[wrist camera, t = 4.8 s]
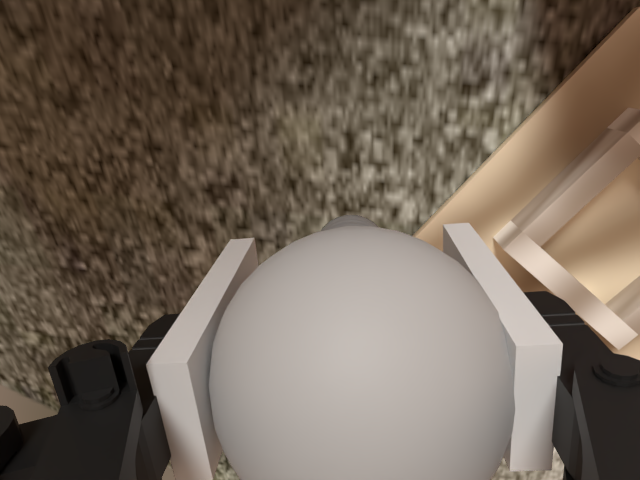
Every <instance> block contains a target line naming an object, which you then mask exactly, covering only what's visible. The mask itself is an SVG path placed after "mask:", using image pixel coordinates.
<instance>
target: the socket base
mask: <svg viewBox="0 0 640 480" xmlns="http://www.w3.org/2000/svg"><path fill="white" fill-rule="evenodd" d="M456 223H470V225H471V226H472V227H473V229H474V230H475V231H476V232H477V234H478V235H479V236H480V238H481V239H482V240H483V241H484V243H485V244H486V245H487V247H488V248H489V249H490V250H491V252H492V253H493V254H494V256H495V257H496V258H497V260H498V261H499V262H500V263H501V265H502V266H503V267H504V269H505V270H506V271H507V272H508V274H509V275H510V276H511V278H512V279H513V280H514V281H515V283H516V284H517V285H518V287H519V288H520V289H521V290H522V292H536V291H547V292H549V293H551V294H553V295H555V296H557V297H559V298H561V299H563V300H565V302H566V303H567V304H568V305H569V306H570V307H571V308H572V309H573V310H574V311H575V314H576V315H578V316H579V317H580V318H581V319H582V320H583V321H584V323H585V325H588V326H589V327H590V329H591V330H592V331H593V332H594V333H595V334H596V335H597V336H598V337H599V338H600V339H601V340H602V341H603V343H604V344H605V345H606V346H607V347H608V348H609V349H610V350H611V351H612V352H613V353H615V354H621V355H626V356H630V357H632V358H635V359H638V360H640V7H636V8H633V9H632V10H631V11H630V12H629V13H628V14H627V15H626V16H625V17H624V19H623V20H622V21H621V22H620V23H619V24H618V25H617V26H616V27H615V28H614V29H613V30H612V31H611V32H610V33H609V34H608V35H607V36H606V37H605V38H604V39H603V40H602V41H601V42H600V43H599V44H598V45H597V46H596V47H595V48H594V49H593V50H592V51H591V53H590V54H589V55H588V56H587V57H586V58H585V59H584V60H583V61H582V62H581V63H580V64H579V65H578V66H577V67H576V68H575V69H574V70H573V71H572V72H571V73H570V74H569V75H568V76H567V77H566V78H565V79H564V80H563V81H562V82H561V83H560V84H559V85H558V86H557V88H556V89H555V90H554V91H553V92H552V93H551V94H550V95H549V96H548V97H547V98H546V99H545V100H544V101H543V102H542V103H541V104H540V105H539V106H538V107H537V108H536V109H535V110H534V111H533V112H532V113H531V114H530V115H529V116H528V117H527V118H526V119H525V120H524V122H523V123H522V124H521V125H520V126H519V127H518V128H517V129H516V130H515V131H514V132H513V133H512V134H511V135H510V136H509V137H508V138H507V139H506V140H505V141H504V142H503V143H502V144H501V145H500V146H499V147H498V148H497V149H496V150H495V151H494V152H493V153H492V154H491V155H490V157H489V158H488V159H487V160H486V161H485V162H484V163H483V164H482V165H481V166H480V167H479V168H478V169H477V170H476V171H475V172H474V173H473V174H472V175H471V176H470V177H469V178H468V179H467V180H466V181H465V182H464V183H463V184H462V185H461V186H460V187H459V188H458V189H457V191H456V192H455V193H454V194H453V195H452V196H451V197H450V198H449V199H448V200H447V201H446V202H445V203H444V204H443V205H442V206H441V207H440V208H439V209H438V210H437V211H436V212H435V213H434V214H433V215H432V216H431V217H430V218H429V219H428V220H427V221H426V222H425V223H424V225H423V226H422V227H421V228H420V229H419V230H418V231H417V232H416V233H415V234H414V235H413V237H416V238H418V239H421V240H423V241H425V242H427V243H429V244H430V245H432V246H434V247H435V248H437V249H439V250H440V251H442V252H443V224H456Z"/></svg>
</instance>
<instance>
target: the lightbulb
mask: <svg viewBox="0 0 640 480" xmlns="http://www.w3.org/2000/svg"><path fill="white" fill-rule="evenodd" d="M209 393H210V401H211V408H212V415H213V421H214V427H215V431H216V433H217V436H218V439H219V441H220V444H221V447H222V449H223V452H224V453H225V455H226V457H227V459H228V460H229V462H230V464H231V466H232V467H233V469H234V471H235V472H236V474H237V475H238V477H239V478H240V480H491V478H492V477H493V475H494V474H495V472H496V471H497V469H498V467H499V465H500V462H501V460H502V458H503V455H504V453H505V451H506V448H507V446H508V443H509V440H510V438H511V435H512V431H513V424H514V416H515V400H514V382H513V374H512V368H511V363H510V358H509V352H508V347H507V341H506V336H505V332H504V329H503V327H502V324H501V321H500V318H499V312H498V311H497V309H496V307H495V306H494V304H493V303H492V301H491V300H490V298H489V297H488V295H487V294H486V292H485V291H484V289H483V288H482V286H481V285H480V283H479V282H478V280H477V279H475V278H474V277H473V276H472V275H471V274H470V273H469V272H468V271H467V270H466V269H465V268H464V267H463V266H462V265H461V264H460V263H459V262H458V261H456V260H455V259H453V258H451V257H450V256H448V255H447V254H445V253H443V252H442V251H440V250H439V249H437V248H435V247H434V246H432V245H430V244H429V243H427V242H425V241H423V240H421V239H418V238H416V237H413V236H410V235H408V234H405V233H402V232H400V231H396V230H390V229H384V228H379V227H378V226H377V225H376V224H375V223H374V222H372V221H370V220H369V219H367V218H364V217H362V216H357V215H345V216H340V217H338V218H335V219H333V220H331V221H330V222H328V223H327V224H326V225H325V226H324V227H323V228H322V230H321V231H320V232H316V233H313V234H311V235H308V236H306V237H304V238H301V239H299V240H296V241H294V242H292V243H290V244H289V245H287V246H286V247H284V248H283V249H281V250H280V251H278V252H277V253H275V254H274V255H272V256H271V257H269V258H268V259H267V260H265V261H264V262H263V263H262V264H260V265H259V266H258V267H257V268H256V269H255V270H254V272H253V273H252V274H251V275H250V276H249V277H248V278H247V279H246V280H245V281H244V282H243V283H242V284H241V285H240V287H239V288H238V290H237V292H236V293H235V295H234V296H233V298H232V300H231V301H230V303H229V304H228V306H227V308H226V310H225V312H224V314H223V317H222V319H221V321H220V324H219V327H218V330H217V333H216V336H215V339H214V342H213V346H212V356H211V366H210V376H209Z"/></svg>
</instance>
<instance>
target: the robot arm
mask: <svg viewBox="0 0 640 480" xmlns="http://www.w3.org/2000/svg"><path fill="white" fill-rule="evenodd" d="M443 253H445V254H447V255H448V256H450V257H451V258H453V259H455V260H456V261H458V262H459V263H460V264H461V265H462V266H463V267H464V268H465V269H466V270H467V271H468V272H469V273H470V274H471V275H472V276H473V277H474V278H475V279H477V280H478V282H479V283H480V285H481V286H482V288H483V289H484V291H485V292H486V294H487V295H488V297H489V298H490V300H491V301H492V303H493V304H494V306H495V307H496V309H497V311H498V312H499V318H500V321H501V324H502V327H503V329H504V332H505V336H506V341H507V347H508V352H509V358H510V363H511V368H512V374H513V382H514V400H515V416H514V424H513V431H512V435H511V438H510V440H509V443H508V446H507V448H506V451H505V453H504V455H503V456H504V458H505V461H506V463H507V466H508V468H509V471H541V470H552V459H553V448H554V447H555V449H556V450H557V452H558V454H559V456H560V458H561V460H562V461H563V463H564V475H563V480H640V360H638V359H635V358H632V357H630V356H626V355H621V354H615V353H613V352H612V351H611V350H610V349H609V348H608V347H607V346H606V345H605V344H604V343H603V341H602V340H601V339H600V338H599V337H598V336H597V335H596V334H595V333H594V332H593V331H592V330H591V329H590V327H589V326H588V325H585V323H584V321H583V320H582V319H581V318H580V317H579V316H578V315H576V314H575V311H574V310H573V309H572V308H571V307H570V306H569V305H568V304H567V303H566V302H565V300H563V299H561V298H559V297H557V296H555V295H553V294H551V293H549V292H547V291H536V292H522V290H521V289H520V288H519V287H518V285H517V284H516V283H515V281H514V280H513V279H512V278H511V276H510V275H509V274H508V272H507V271H506V270H505V269H504V267H503V266H502V265H501V263H500V262H499V261H498V260H497V258H496V257H495V256H494V254H493V253H492V252H491V250H490V249H489V248H488V247H487V245H486V244H485V243H484V241H483V240H482V239H481V238H480V236H479V235H478V234H477V232H476V231H475V230H474V229H473V227H472V226H471V225H470V223H456V224H443ZM258 266H259V265H258V259H257V252H256V245H255V238H245V239H231V240H230V241H229V242H228V244H227V245H226V247H225V248H224V250H223V251H222V253H221V254H220V256H219V257H218V259H217V260H216V262H215V263H214V265H213V266H212V267H211V269H210V270H209V272H208V273H207V275H206V276H205V278H204V279H203V281H202V282H201V284H200V285H199V287H198V288H197V290H196V291H195V293H194V294H193V296H192V297H191V299H190V300H189V302H188V303H187V305H186V306H185V307H184V309H183V310H182V312H181V313H180V314H169V315H164V316H162V317H161V318H159V319H158V320H156V321H155V322H154V323H152V324H151V325H149V326H148V328H147V329H146V330H145V332H144V333H143V334H142V335H141V337H140V340H138V341H137V342H136V343H135V345H134V346H133V347H132V350H130V351H129V352H128V351H127V347H126V345H125V344H124V343H122V342H121V341H117V340H110V339H108V340H98V341H93V342H89V343H86V344H82V345H79V346H77V347H75V348H73V349H71V350H68V351H66V352H65V353H63V354H62V355H60V356H59V357H58V358H56V359H55V360H54V361H53V362H52V363H51V365H50V366H49V367H48V369H49V372H50V375H51V378H52V381H53V384H54V387H55V390H56V393H57V396H58V399H59V402H60V405H61V408H60V410H59V412H58V415H55V416H51V417H47V418H43V419H39V420H35V421H31V422H27V423H23V424H18V421H17V419H16V416H15V414H14V411H13V410H12V409H10V408H9V407H7V406H0V480H162V476H163V473H164V471H165V469H166V467H167V465H168V462H169V460H170V461H171V465H172V468H173V472H174V476H175V480H213V478H214V475H215V472H216V469H217V466H218V463H219V459H220V456H221V453H222V450H223V449H222V447H221V444H220V441H219V439H218V436H217V433H216V431H215V427H214V421H213V415H212V408H211V401H210V393H209V376H210V366H211V356H212V346H213V342H214V339H215V336H216V333H217V330H218V327H219V324H220V321H221V319H222V317H223V314H224V312H225V310H226V308H227V306H228V304H229V303H230V301H231V300H232V298H233V296H234V295H235V293H236V292H237V290H238V288H239V287H240V285H241V284H242V283H243V282H244V281H245V280H246V279H247V278H248V277H249V276H250V275H251V274H252V273H253V272H254V270H255V269H256V268H257V267H258Z"/></svg>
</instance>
